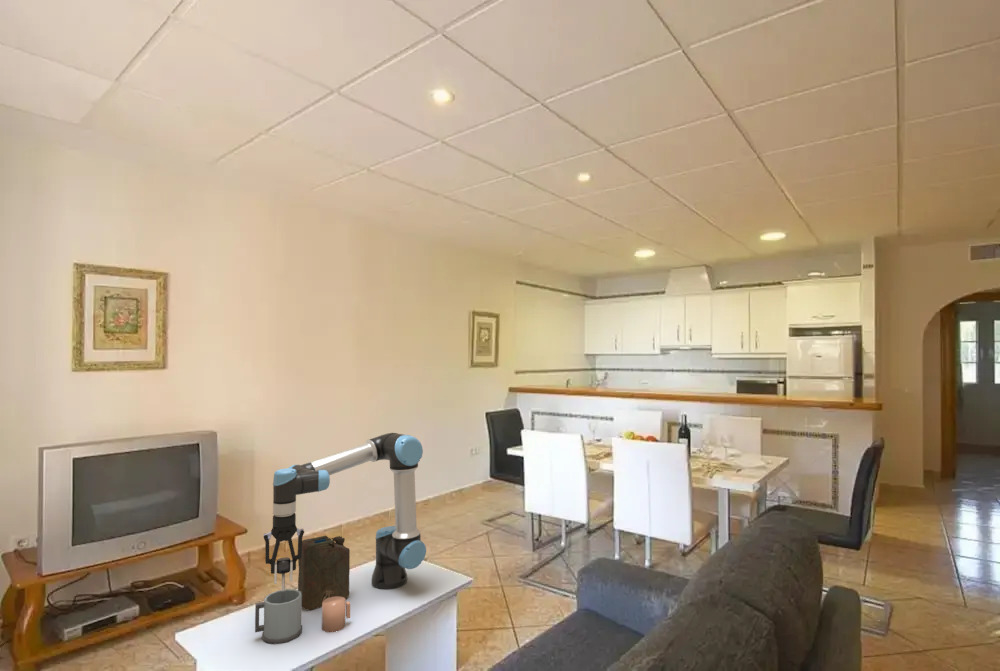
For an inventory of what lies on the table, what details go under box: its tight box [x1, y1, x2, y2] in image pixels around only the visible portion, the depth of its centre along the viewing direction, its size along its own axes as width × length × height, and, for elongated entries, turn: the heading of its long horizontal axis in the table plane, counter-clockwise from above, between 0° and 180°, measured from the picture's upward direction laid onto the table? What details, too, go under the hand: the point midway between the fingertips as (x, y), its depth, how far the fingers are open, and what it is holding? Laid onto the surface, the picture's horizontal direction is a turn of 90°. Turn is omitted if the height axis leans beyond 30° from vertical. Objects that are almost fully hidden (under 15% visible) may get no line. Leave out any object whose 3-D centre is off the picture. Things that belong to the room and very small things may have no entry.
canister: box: [297, 535, 351, 611], centre depth 212 cm, size 19×8×25 cm, turn 129°
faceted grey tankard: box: [254, 588, 303, 645], centre depth 186 cm, size 15×13×13 cm
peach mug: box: [321, 596, 351, 633], centre depth 192 cm, size 10×8×9 cm
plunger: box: [276, 556, 291, 603], centre depth 187 cm, size 9×9×18 cm
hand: (283, 580), depth 187 cm, fingers closed on plunger, 4 cm apart
